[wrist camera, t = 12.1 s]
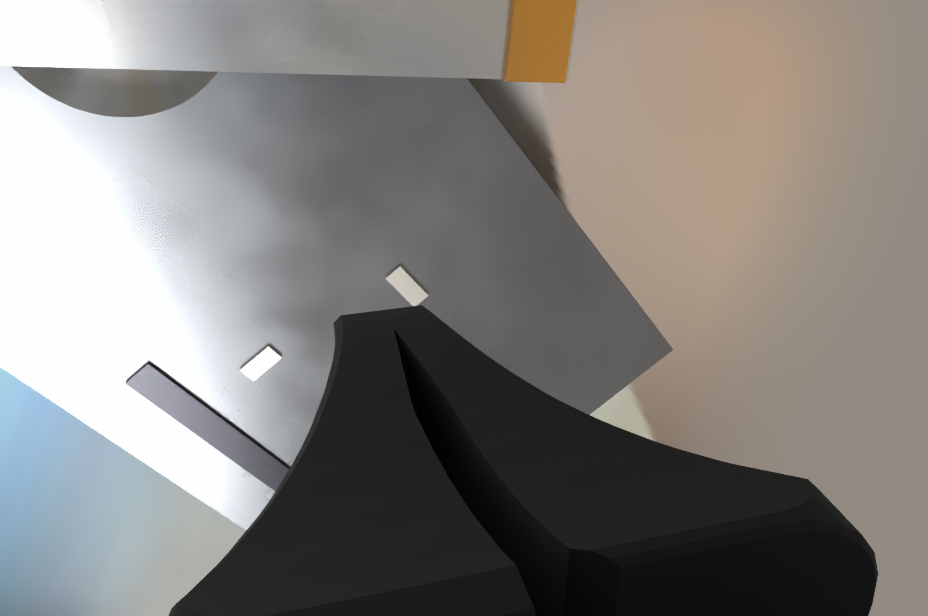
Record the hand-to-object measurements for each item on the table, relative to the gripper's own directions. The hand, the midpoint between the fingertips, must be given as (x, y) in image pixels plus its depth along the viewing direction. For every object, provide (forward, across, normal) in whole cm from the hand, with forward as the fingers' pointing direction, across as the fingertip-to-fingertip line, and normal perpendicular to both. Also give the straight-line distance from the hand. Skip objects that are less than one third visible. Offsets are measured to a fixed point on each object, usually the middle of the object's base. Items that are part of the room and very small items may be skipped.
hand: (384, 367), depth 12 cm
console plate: (+10, +1, +2) cm, 10 cm away
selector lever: (+8, +1, -4) cm, 9 cm away
